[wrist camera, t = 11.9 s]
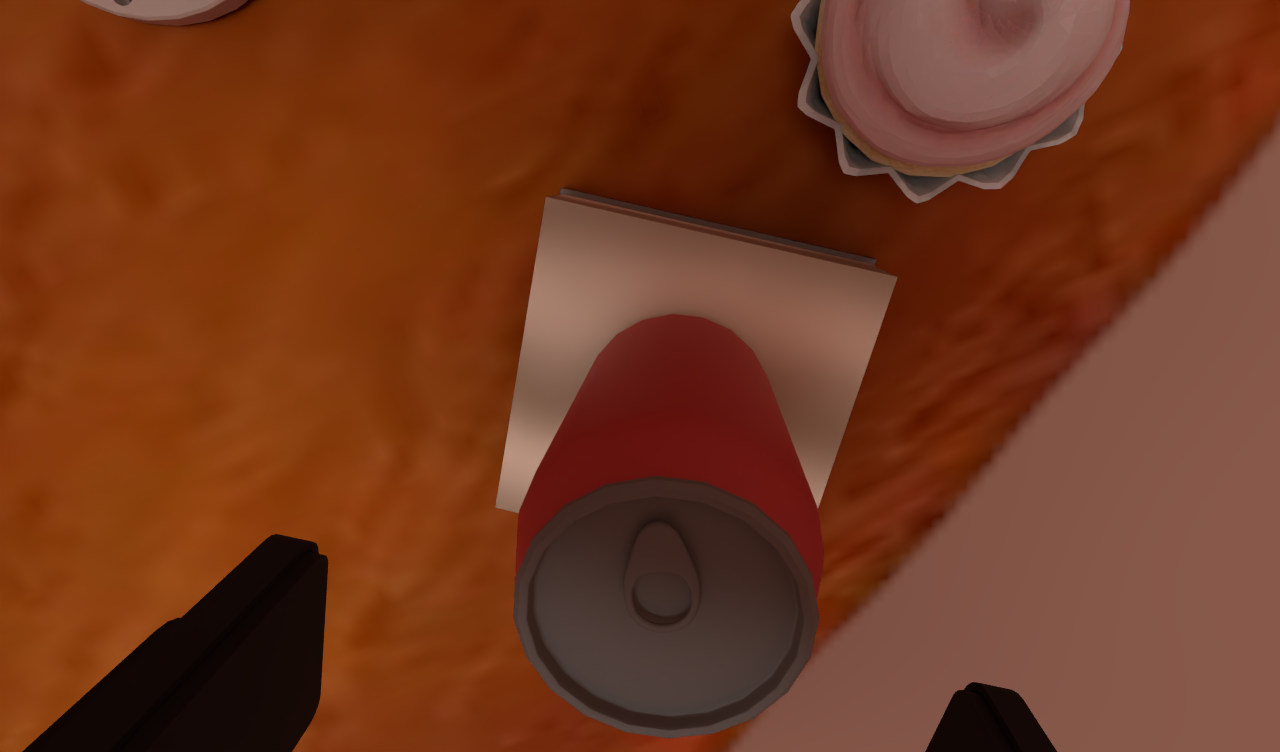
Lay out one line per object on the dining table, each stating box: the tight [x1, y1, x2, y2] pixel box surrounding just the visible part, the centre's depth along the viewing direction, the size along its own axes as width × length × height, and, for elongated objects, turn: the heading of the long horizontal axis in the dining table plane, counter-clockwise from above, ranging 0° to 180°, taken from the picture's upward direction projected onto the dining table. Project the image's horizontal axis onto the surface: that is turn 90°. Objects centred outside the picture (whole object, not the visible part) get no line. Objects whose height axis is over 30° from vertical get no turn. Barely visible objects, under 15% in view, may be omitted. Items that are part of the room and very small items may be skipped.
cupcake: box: [790, 0, 1130, 204], centre depth 18 cm, size 9×9×10 cm
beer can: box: [513, 314, 824, 738], centre depth 17 cm, size 7×7×12 cm
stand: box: [495, 188, 898, 513], centre depth 25 cm, size 12×12×4 cm
